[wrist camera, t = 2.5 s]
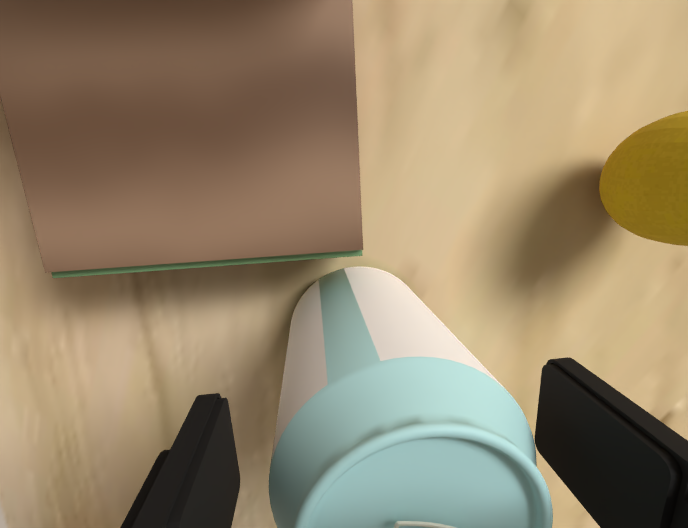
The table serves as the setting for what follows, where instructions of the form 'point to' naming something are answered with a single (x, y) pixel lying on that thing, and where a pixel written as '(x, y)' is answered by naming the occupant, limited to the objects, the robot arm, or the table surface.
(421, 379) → the can
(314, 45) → the stand
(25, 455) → the table surface
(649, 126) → the lemon
